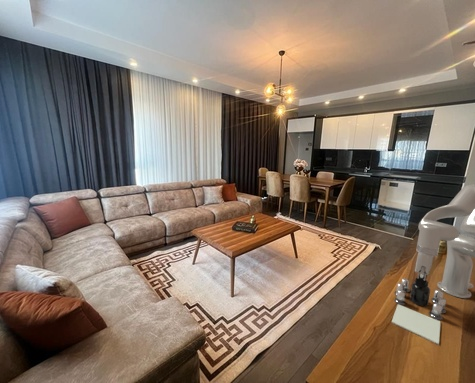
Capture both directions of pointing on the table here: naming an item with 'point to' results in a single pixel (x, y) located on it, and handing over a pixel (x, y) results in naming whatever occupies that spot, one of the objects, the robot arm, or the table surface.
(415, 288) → the supplement bottle
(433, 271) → the table surface
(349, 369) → the table surface
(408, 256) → the table surface
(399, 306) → the sage pad
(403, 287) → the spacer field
